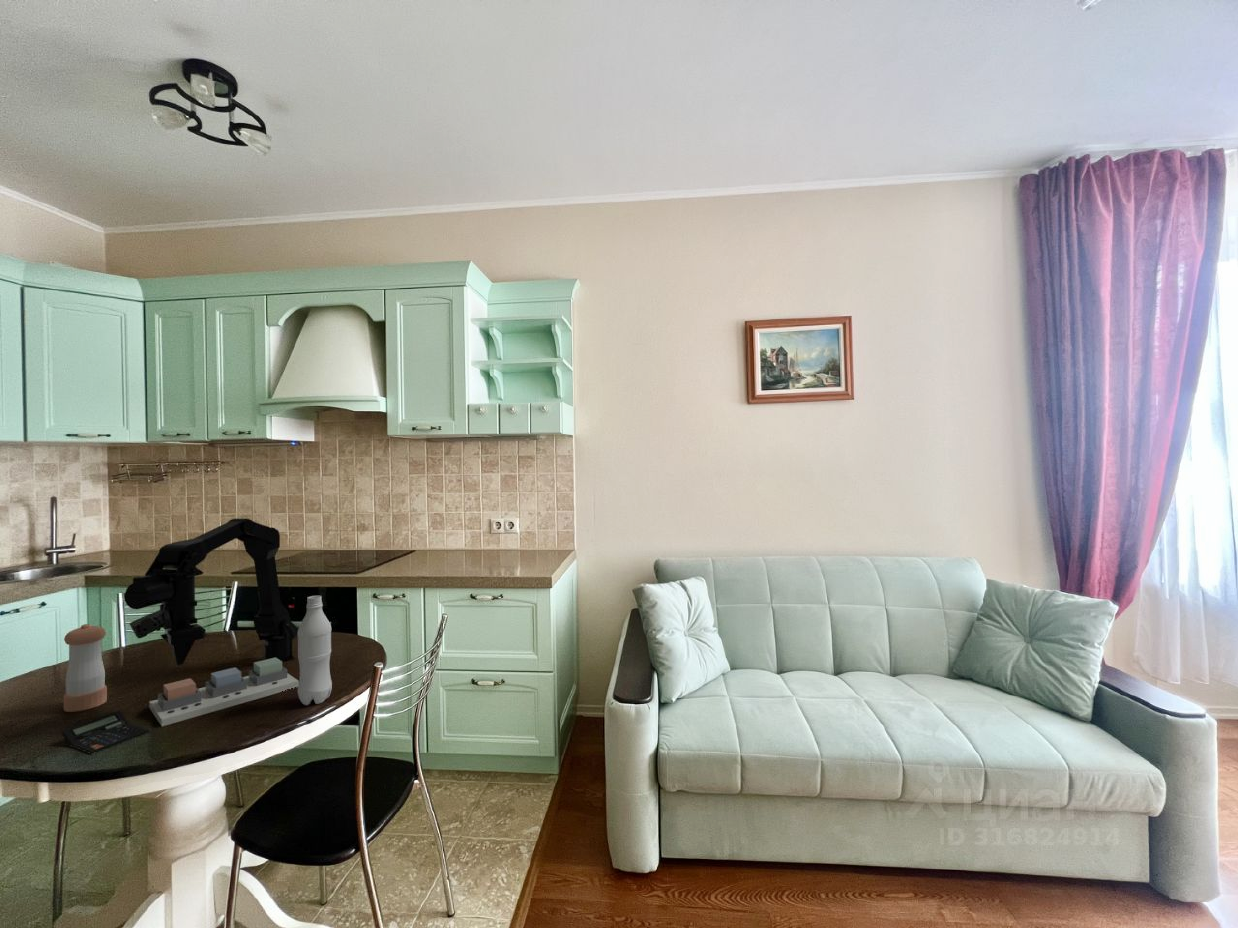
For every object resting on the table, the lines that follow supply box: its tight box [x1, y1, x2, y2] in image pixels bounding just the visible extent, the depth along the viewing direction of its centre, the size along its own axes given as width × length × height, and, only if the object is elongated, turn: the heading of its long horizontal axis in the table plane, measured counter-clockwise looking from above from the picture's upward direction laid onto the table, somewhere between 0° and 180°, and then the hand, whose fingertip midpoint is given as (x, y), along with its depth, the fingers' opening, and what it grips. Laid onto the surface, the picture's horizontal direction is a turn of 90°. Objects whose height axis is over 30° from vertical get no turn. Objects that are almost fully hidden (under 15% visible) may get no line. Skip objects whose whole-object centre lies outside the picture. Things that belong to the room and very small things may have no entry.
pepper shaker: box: [63, 623, 108, 713], centre depth 127 cm, size 7×7×19 cm
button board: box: [148, 665, 299, 727], centre depth 131 cm, size 27×14×4 cm, turn 140°
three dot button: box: [163, 678, 197, 701], centre depth 125 cm, size 5×5×2 cm
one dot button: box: [253, 657, 283, 676], centre depth 139 cm, size 5×5×2 cm
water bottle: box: [297, 595, 333, 706], centre depth 129 cm, size 7×7×25 cm
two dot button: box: [210, 667, 242, 688], centre depth 132 cm, size 5×5×2 cm
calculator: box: [61, 710, 150, 753], centre depth 112 cm, size 9×12×3 cm
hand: (179, 664), depth 125 cm, fingers closed
